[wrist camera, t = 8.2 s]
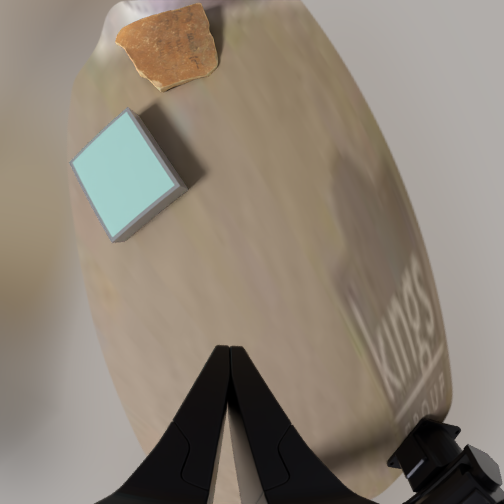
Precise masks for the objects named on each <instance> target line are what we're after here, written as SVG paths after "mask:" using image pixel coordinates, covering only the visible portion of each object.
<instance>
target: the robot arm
mask: <svg viewBox="0 0 504 504" xmlns="http://www.w3.org/2000/svg"><path fill="white" fill-rule="evenodd" d="M227 409H228V418H229V426H230V433H231V440H232V447H233V454H234V460H235V467H236V473H237V479H238V486H239V492H240V498H241V503H242V504H379V503H376V502H374V501H371V500H369V499H366V498H364V497H362V496H359V495H358V494H356V493H354V492H353V491H351V490H350V489H348V488H347V487H346V486H345V485H344V484H343V483H342V482H341V481H340V480H339V479H338V478H337V477H336V476H335V475H334V474H333V473H332V472H331V471H330V470H329V469H328V468H327V467H326V466H325V465H324V464H323V462H322V461H321V460H320V459H319V458H318V457H317V456H316V455H315V454H314V452H313V451H312V450H311V449H310V448H309V447H308V445H307V444H306V443H305V441H304V440H303V439H302V437H301V436H300V435H299V433H298V432H297V430H296V429H295V427H294V426H293V425H291V424H292V423H291V421H290V420H289V418H288V417H287V415H286V414H285V412H284V411H283V409H282V408H281V406H280V405H279V403H278V402H277V400H276V399H275V397H274V395H273V394H272V392H271V391H270V389H269V388H268V386H267V384H266V383H265V381H264V380H263V378H262V376H261V375H260V373H259V372H258V370H257V368H256V367H255V365H254V364H253V362H252V360H251V359H250V357H249V355H248V354H247V352H246V351H245V349H244V347H242V346H230V348H229V346H227V345H217V346H216V347H215V348H214V350H213V352H212V353H211V355H210V357H209V359H208V360H207V362H206V364H205V365H204V367H203V369H202V371H201V372H200V374H199V376H198V377H197V379H196V381H195V383H194V384H193V386H192V388H191V389H190V391H189V393H188V395H187V396H186V398H185V400H184V401H183V403H182V405H181V406H180V408H179V410H178V412H177V413H176V415H175V417H174V418H173V421H172V422H171V423H170V425H169V426H168V428H167V430H166V431H165V433H164V434H163V436H162V437H161V439H160V441H159V442H158V443H157V445H156V446H155V447H154V449H153V450H152V451H151V452H150V454H149V455H148V456H147V457H146V459H145V460H144V461H143V462H142V463H141V464H140V466H139V467H138V468H137V469H136V470H135V472H134V473H133V474H132V475H131V476H130V477H129V478H128V480H127V481H126V482H125V483H124V484H123V485H122V486H121V487H120V488H119V489H117V490H116V491H115V492H114V493H112V494H111V495H109V496H108V497H106V498H104V499H102V500H100V501H98V502H96V503H94V504H213V498H214V492H215V485H216V479H217V472H218V465H219V459H220V452H221V446H222V439H223V432H224V426H225V419H226V412H227ZM423 423H424V424H423ZM460 432H461V429H460V428H459V427H458V426H453V425H449V424H445V423H441V422H437V421H434V420H430V419H426V418H424V419H422V420H421V421H420V422H419V423H418V424H417V426H416V427H415V428H414V430H413V431H412V432H411V433H410V435H409V436H408V437H407V439H406V440H405V441H404V442H403V443H402V445H401V446H400V447H399V448H398V449H397V451H396V452H395V453H394V454H393V455H392V456H391V458H390V459H389V460H388V461H387V465H388V467H392V468H399V469H402V471H403V473H404V475H405V477H406V478H407V479H408V481H409V484H410V486H411V488H412V490H413V492H416V494H415V495H414V496H413V497H411V498H410V499H409V500H407V501H406V502H404V503H402V504H504V491H503V490H502V489H501V488H500V486H501V485H502V479H501V474H500V470H499V466H498V464H497V463H496V462H495V461H494V460H493V459H492V458H490V456H489V455H488V454H487V453H485V452H483V451H481V450H479V449H477V448H475V447H473V446H471V445H469V444H467V445H466V446H465V447H464V450H463V451H462V450H461V448H460V447H459V446H458V444H457V443H456V442H455V438H456V437H457V436H458V434H459V433H460Z"/></svg>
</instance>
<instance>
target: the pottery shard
mask: <svg viewBox="0 0 504 504" xmlns="http://www.w3.org/2000/svg"><path fill="white" fill-rule="evenodd" d="M209 26H210V24H209V21H208V19H207V16H206V14H205V11H204V9H203V7H202V4H201V3H196V4H192V5H189V6H186V7H183V8H180V9H176V10H172V11H171V10H170V11H166V12H163V13H159V14H155V15H152V16H149V17H146V18H143V19H140V20H138V21H136V22H133V23H131V24H129V25H127V26H125V27H123V28H122V29H121V30H120V32H119V33H118V35H117V38H116V41H115V43H116V44H117V45H119V46H121V47H122V48H124V49H125V51H126V53H127V54H128V56H129V57H130V59H131V60H132V61H133V63H134V65H135V67H136V69H137V71H138V72H139V74H140V76H141V77H143V78H146V79H148V80H149V81H150V82H151V83H152V84H153V85H154V86H155V87H156V88H157V89H158V90H159V91H161V92H165V91H166V90H168V89H170V88H173V87H175V86H178V85H182V84H185V83H187V82H189V81H192V80H194V79H198V78H202V77H207V76H210V75H211V74H212V72H213V71H214V70H215V69H216V68H217V65H218V56H217V51H216V48H215V43H214V38H213V36H212V35H211V33H210V31H209Z"/></svg>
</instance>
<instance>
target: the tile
mask: <svg viewBox="0 0 504 504" xmlns="http://www.w3.org/2000/svg"><path fill="white" fill-rule="evenodd" d="M69 163H70V165H71V167H72V170H73V172H74V174H75V176H76V178H77V180H78V182H79V184H80V186H81V188H82V190H83V192H84V193H85V195H86V197H87V199H88V201H89V203H90V205H91V207H92V209H93V210H94V212H95V214H96V216H97V218H98V219H99V221H100V223H101V225H102V227H103V228H104V230H105V232H106V234H107V235H108V237H109V239H110V240H111V242H112V243H117V242H125V241H126V240H127V239H128V238H130V237H131V236H132V235H133V234H134V233H135V232H137V231H138V230H139V229H140V228H141V227H143V226H144V225H145V224H146V223H147V222H149V221H150V220H151V219H152V218H153V217H155V216H156V215H157V214H158V213H160V212H161V211H162V210H163V209H165V208H166V207H167V206H168V205H170V204H171V203H172V202H173V201H175V200H176V199H177V198H179V197H180V196H181V195H182V194H184V193H185V192H186V191H188V190H189V189H188V188H187V186H186V185H185V183H184V182H183V180H182V179H181V178H180V176H179V175H178V173H177V172H176V170H175V169H174V167H173V166H172V164H171V163H170V161H169V160H168V158H167V157H166V155H165V154H164V152H163V151H162V149H161V148H160V146H159V145H158V143H157V142H156V140H155V139H154V138H153V136H152V135H151V133H150V132H149V130H148V129H147V127H146V126H145V124H144V123H143V121H142V120H141V118H140V117H139V115H138V114H136V113H135V112H134V111H132V110H131V109H130V108H129V107H127V108H126V109H125V110H124V111H123V112H121V113H120V114H119V115H118V116H117V117H116V118H115V119H113V120H112V121H111V122H110V123H109V124H108V125H107V126H106V127H105V128H103V129H102V130H101V131H100V132H99V133H98V134H97V135H96V136H95V137H94V138H93V139H92V140H91V141H90V142H89V143H88V144H87V145H86V146H85V147H84V148H83V149H82V150H81V151H80V152H79V153H78V154H77V155H76V156H75V157H74V158H73V159H72V160H71V161H70V162H69Z"/></svg>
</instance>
